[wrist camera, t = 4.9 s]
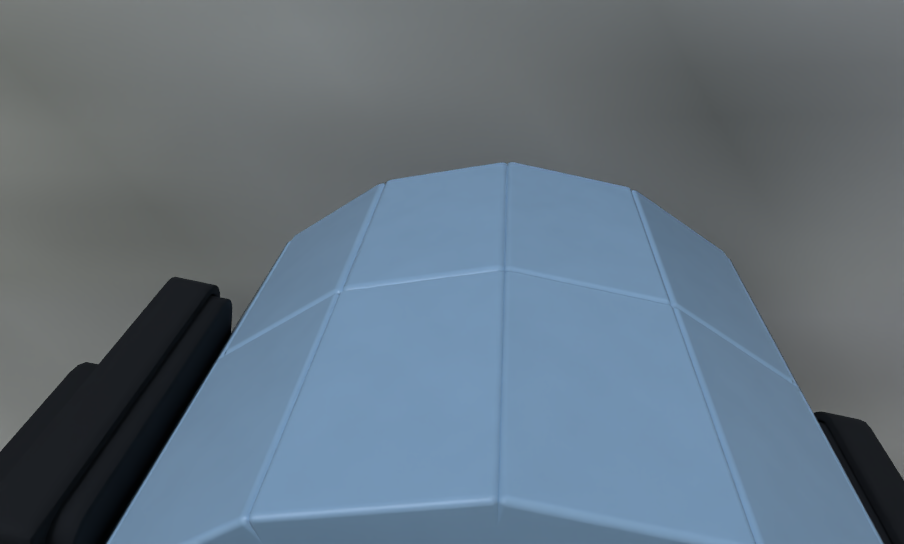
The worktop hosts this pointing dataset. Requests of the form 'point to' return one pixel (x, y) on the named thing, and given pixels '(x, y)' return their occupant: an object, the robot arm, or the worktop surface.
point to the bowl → (498, 386)
